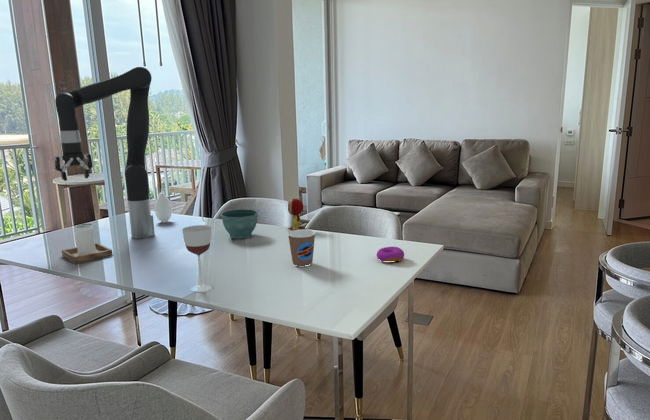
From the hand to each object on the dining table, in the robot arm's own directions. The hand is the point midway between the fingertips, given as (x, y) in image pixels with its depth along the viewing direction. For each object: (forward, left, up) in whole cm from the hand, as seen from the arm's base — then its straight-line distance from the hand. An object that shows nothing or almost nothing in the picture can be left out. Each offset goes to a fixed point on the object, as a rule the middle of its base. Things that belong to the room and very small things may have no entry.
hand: (76, 179), depth 206 cm
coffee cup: (-44, +95, -28) cm, 108 cm away
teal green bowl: (-52, +45, -28) cm, 74 cm away
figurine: (-76, +56, -28) cm, 99 cm away
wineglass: (-6, +88, -28) cm, 93 cm away
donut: (-69, +116, -28) cm, 138 cm away
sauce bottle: (-42, -8, -28) cm, 51 cm away
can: (+6, +22, -28) cm, 36 cm away
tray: (+6, +23, -28) cm, 37 cm away
